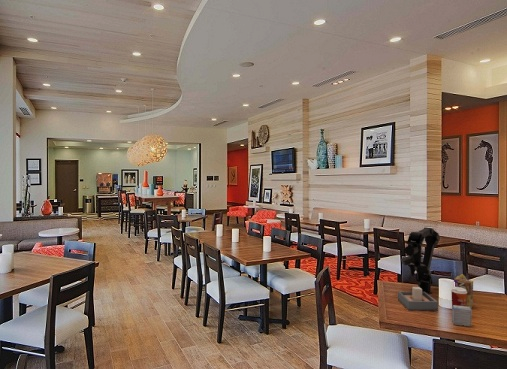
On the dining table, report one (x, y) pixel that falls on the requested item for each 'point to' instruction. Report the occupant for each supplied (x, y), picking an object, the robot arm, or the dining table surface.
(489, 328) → the dining table surface
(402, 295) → the bin
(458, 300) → the paper cup
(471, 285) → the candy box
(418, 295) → the peg
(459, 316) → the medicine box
